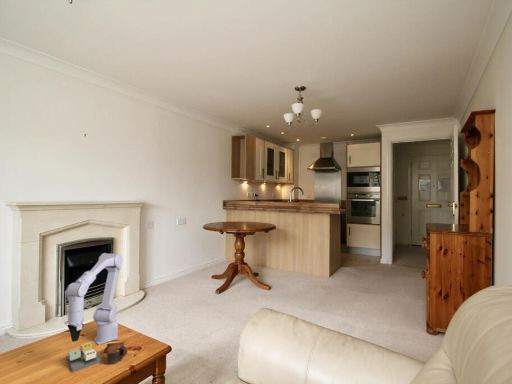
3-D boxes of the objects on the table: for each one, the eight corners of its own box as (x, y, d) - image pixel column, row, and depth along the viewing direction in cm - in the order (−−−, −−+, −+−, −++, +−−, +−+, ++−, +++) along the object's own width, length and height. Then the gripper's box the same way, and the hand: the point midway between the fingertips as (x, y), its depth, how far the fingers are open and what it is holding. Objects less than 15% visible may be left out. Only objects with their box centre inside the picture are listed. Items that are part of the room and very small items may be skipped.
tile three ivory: (93, 353, 127) (93, 348, 127) (96, 357, 124) (96, 351, 124) (83, 356, 124) (83, 351, 124) (85, 360, 122) (86, 355, 122)
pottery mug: (96, 365, 124) (100, 344, 128) (112, 364, 132) (115, 344, 136) (119, 362, 121) (122, 341, 125) (134, 361, 129) (136, 341, 133)
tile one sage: (78, 353, 127) (78, 348, 127) (80, 357, 124) (80, 351, 124) (68, 356, 124) (68, 351, 124) (70, 360, 121) (70, 355, 121)
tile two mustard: (90, 346, 133) (90, 341, 133) (92, 349, 130) (92, 344, 130) (80, 349, 130) (80, 343, 131) (82, 352, 128) (82, 347, 128)
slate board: (93, 350, 135) (93, 347, 135) (101, 361, 125) (101, 358, 125) (65, 359, 127) (65, 356, 127) (71, 372, 117) (71, 369, 117)
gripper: (62, 307, 127) (61, 337, 127) (69, 317, 116) (67, 350, 116) (79, 303, 132) (78, 332, 132) (88, 313, 121) (87, 344, 121)
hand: (75, 340), depth 124 cm, fingers closed
